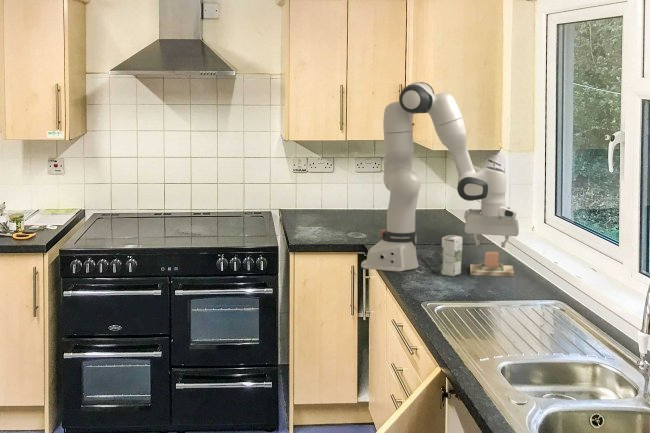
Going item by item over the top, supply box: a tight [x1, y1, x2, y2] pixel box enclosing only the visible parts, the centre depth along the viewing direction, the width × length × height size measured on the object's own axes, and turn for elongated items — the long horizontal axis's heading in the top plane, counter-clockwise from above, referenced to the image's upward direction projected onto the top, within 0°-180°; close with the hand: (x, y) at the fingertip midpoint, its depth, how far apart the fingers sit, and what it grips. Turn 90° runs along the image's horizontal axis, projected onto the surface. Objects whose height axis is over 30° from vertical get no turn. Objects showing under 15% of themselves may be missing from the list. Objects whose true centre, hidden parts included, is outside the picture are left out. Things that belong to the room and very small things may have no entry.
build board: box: [469, 262, 515, 278], centre depth 334 cm, size 16×12×2 cm
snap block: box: [484, 250, 500, 268], centre depth 334 cm, size 5×5×6 cm
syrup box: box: [440, 234, 464, 277], centre depth 330 cm, size 6×6×14 cm
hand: (490, 246), depth 333 cm, fingers open, 8 cm apart
